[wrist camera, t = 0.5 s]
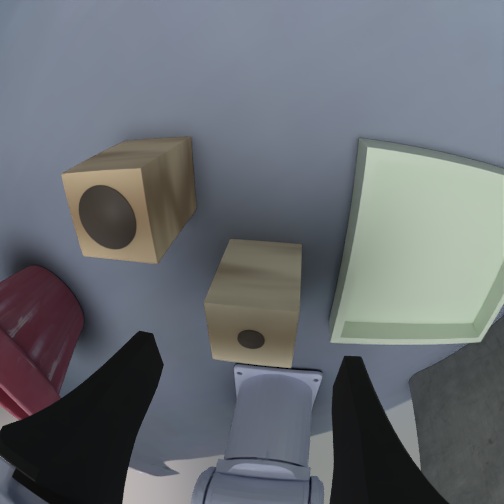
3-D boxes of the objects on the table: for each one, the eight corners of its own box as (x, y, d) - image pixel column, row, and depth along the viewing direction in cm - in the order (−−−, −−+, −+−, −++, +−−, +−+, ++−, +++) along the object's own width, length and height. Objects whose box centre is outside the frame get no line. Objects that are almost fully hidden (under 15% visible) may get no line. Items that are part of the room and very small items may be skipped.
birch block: (296, 298, 21) (291, 369, 16) (233, 292, 21) (212, 360, 16) (301, 243, 18) (299, 313, 13) (230, 238, 19) (203, 303, 14)
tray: (472, 323, 20) (480, 342, 18) (329, 320, 21) (330, 342, 20) (530, 177, 13) (549, 190, 11) (359, 138, 14) (367, 146, 12)
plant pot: (-5, 230, 23) (-82, 304, 12) (88, 258, 22) (-5, 376, 11) (31, 322, 31) (-18, 392, 20) (115, 359, 30) (69, 452, 19)
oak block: (197, 208, 18) (156, 265, 13) (134, 206, 19) (82, 256, 14) (191, 136, 16) (139, 168, 11) (124, 141, 16) (59, 174, 11)
